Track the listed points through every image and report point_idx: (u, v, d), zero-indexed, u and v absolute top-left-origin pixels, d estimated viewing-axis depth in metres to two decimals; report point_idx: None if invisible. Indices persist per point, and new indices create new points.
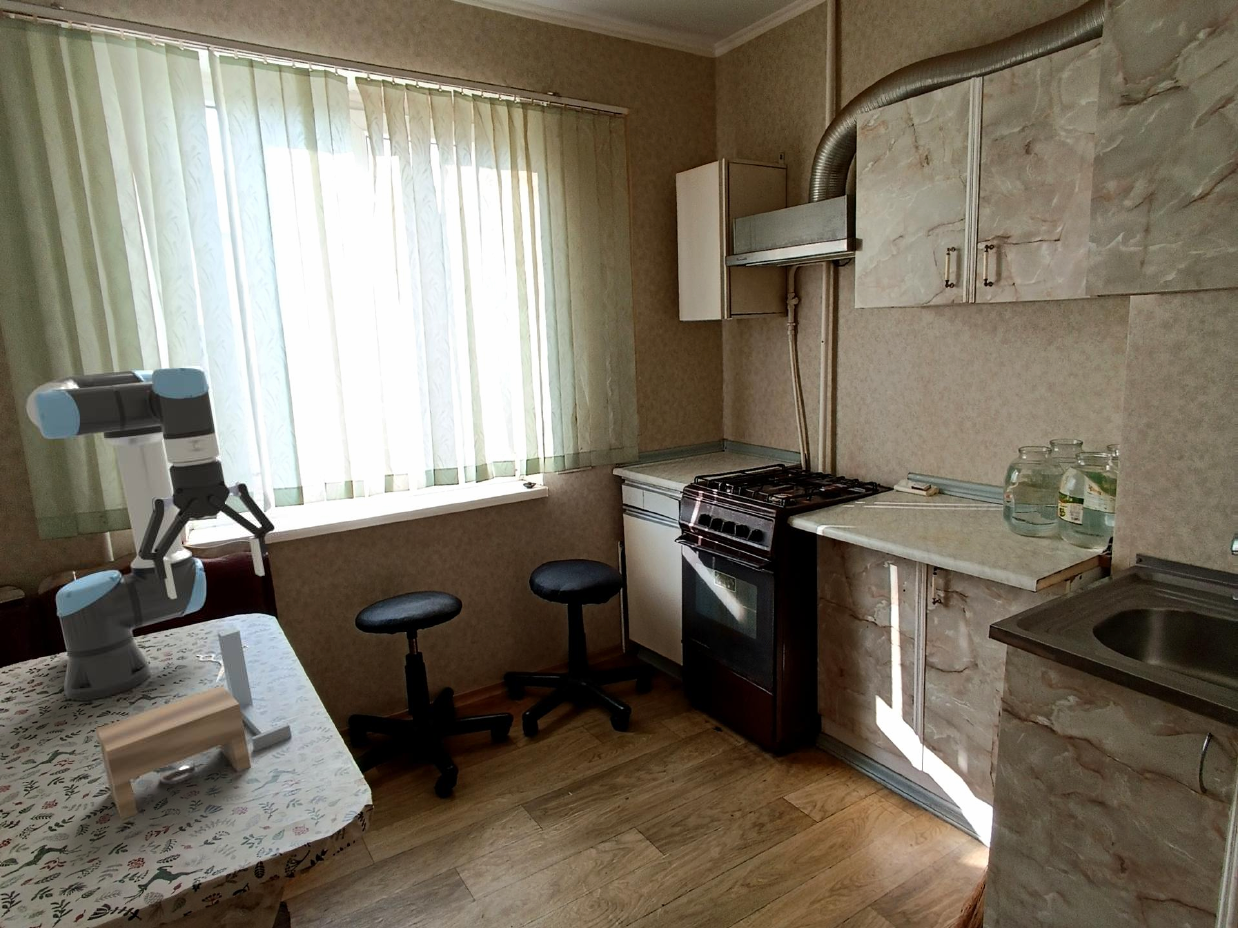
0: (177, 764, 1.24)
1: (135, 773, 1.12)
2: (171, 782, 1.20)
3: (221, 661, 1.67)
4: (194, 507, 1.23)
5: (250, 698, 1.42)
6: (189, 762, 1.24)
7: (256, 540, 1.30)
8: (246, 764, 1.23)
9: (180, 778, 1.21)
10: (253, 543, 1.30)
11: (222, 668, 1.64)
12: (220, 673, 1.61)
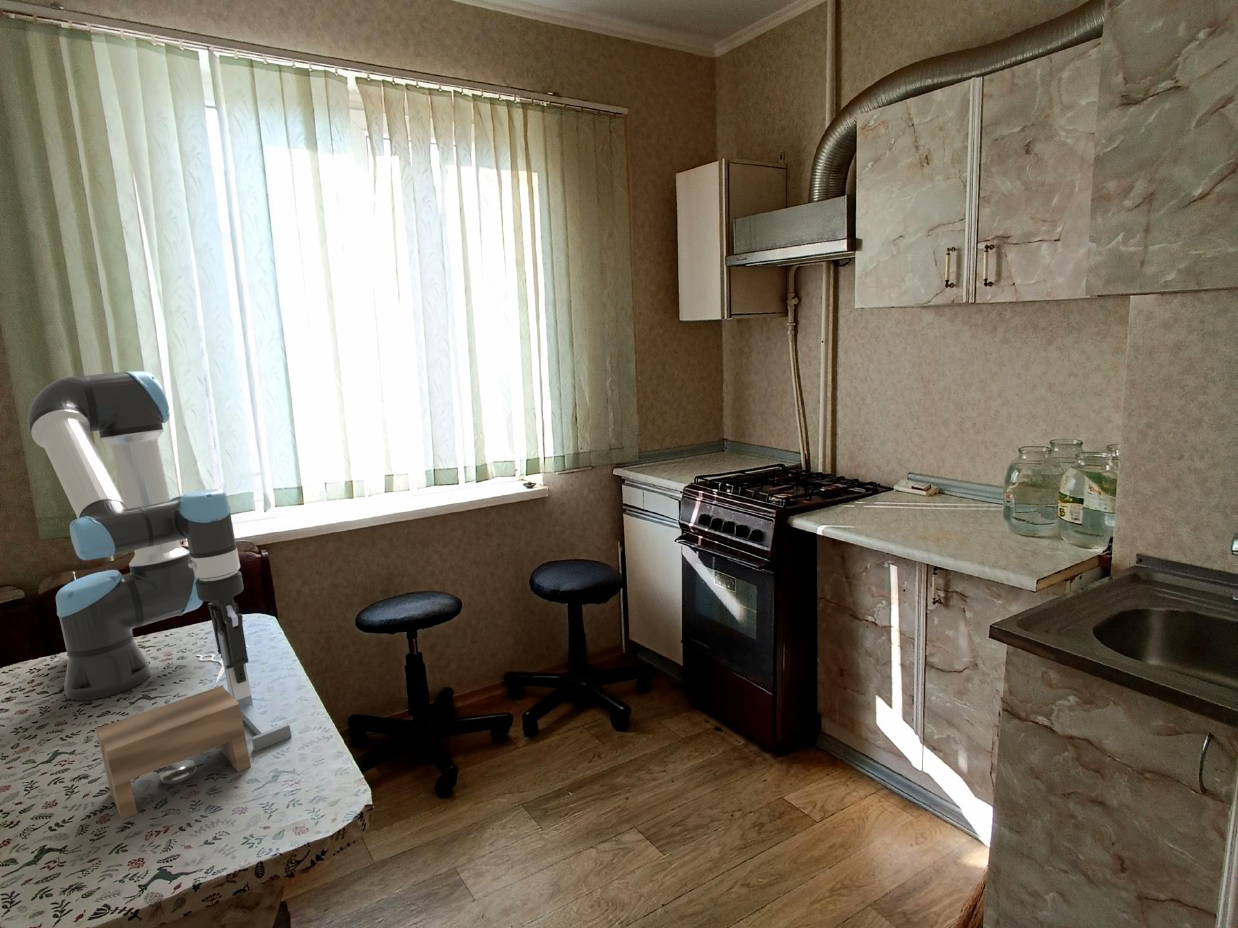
0: (177, 764, 1.24)
1: (135, 773, 1.12)
2: (171, 782, 1.20)
3: (221, 661, 1.67)
4: (211, 613, 1.39)
5: (250, 698, 1.42)
6: (189, 762, 1.24)
7: None
8: (246, 764, 1.23)
9: (180, 778, 1.20)
10: None
11: (222, 668, 1.64)
12: (220, 673, 1.61)
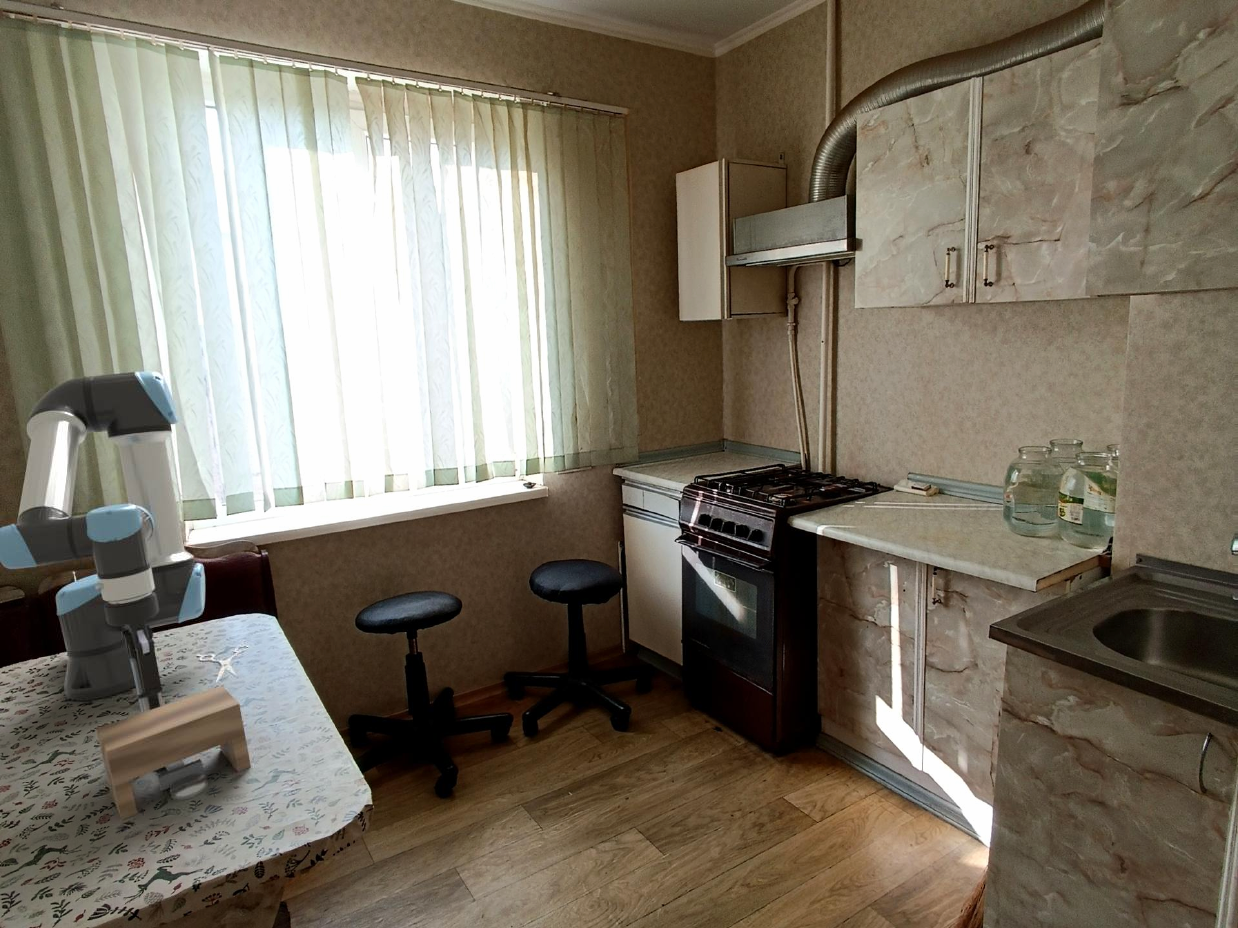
0: (187, 779, 1.19)
1: (135, 773, 1.12)
2: (182, 798, 1.15)
3: (221, 661, 1.67)
4: (123, 638, 1.29)
5: None
6: (200, 777, 1.19)
7: (142, 697, 1.28)
8: (246, 764, 1.23)
9: (192, 793, 1.16)
10: None
11: (222, 668, 1.64)
12: (220, 673, 1.61)
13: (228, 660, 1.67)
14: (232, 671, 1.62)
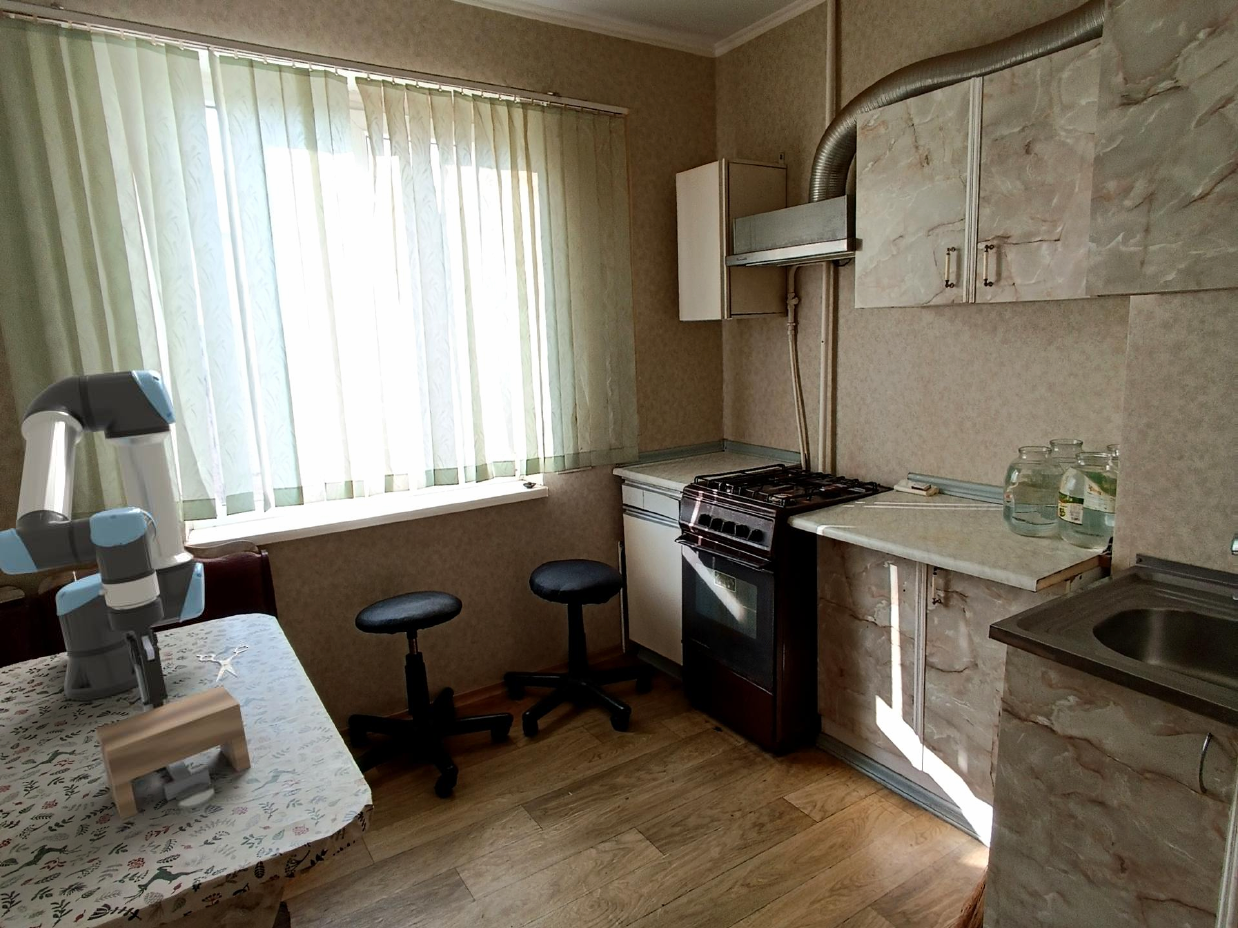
0: (193, 787, 1.16)
1: (135, 773, 1.12)
2: (190, 807, 1.13)
3: (221, 661, 1.67)
4: (127, 644, 1.26)
5: None
6: (206, 785, 1.17)
7: (147, 704, 1.26)
8: (246, 764, 1.23)
9: (199, 802, 1.13)
10: None
11: (222, 668, 1.64)
12: (220, 673, 1.61)
13: (228, 660, 1.67)
14: (232, 671, 1.62)
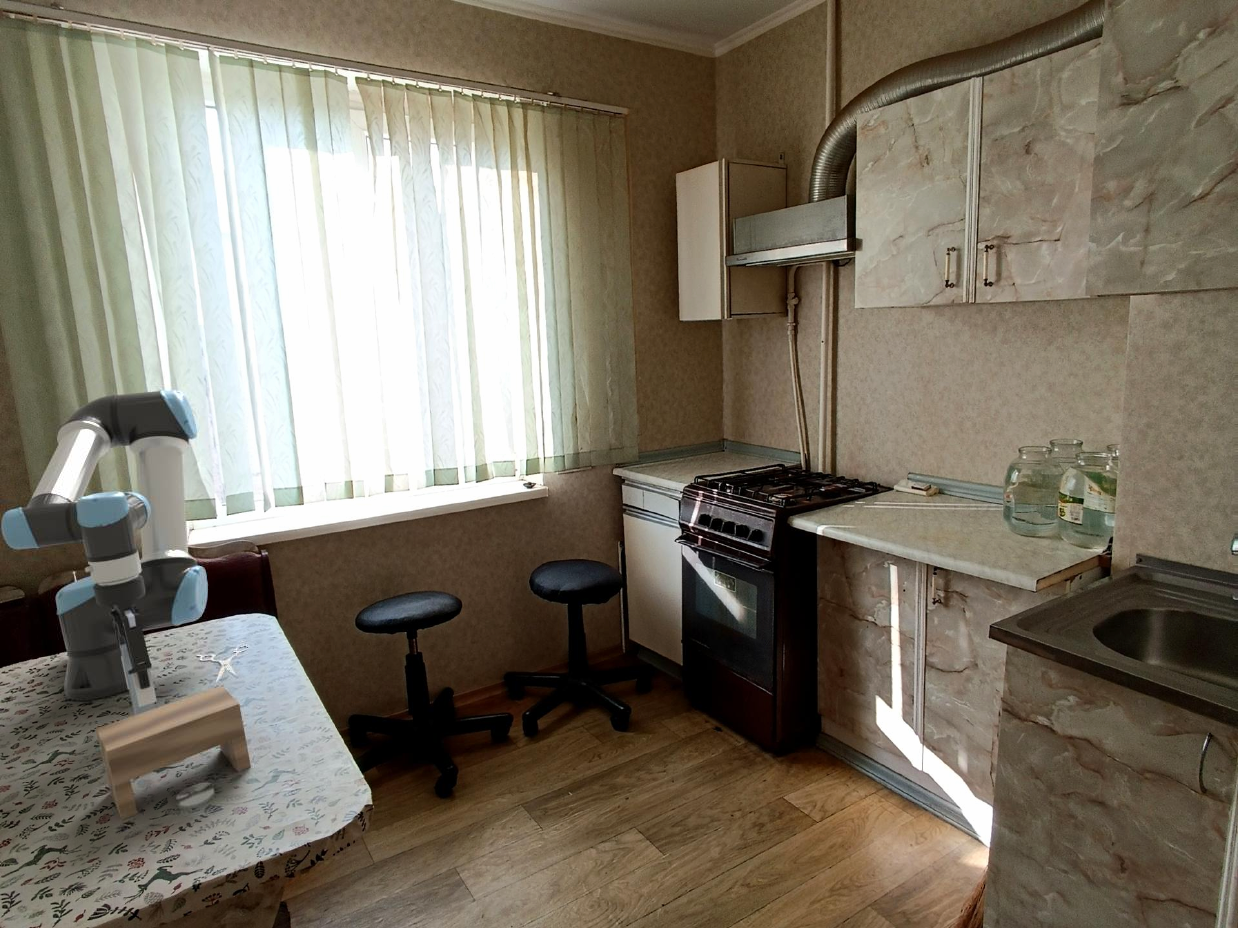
0: (193, 787, 1.16)
1: (135, 773, 1.12)
2: (189, 807, 1.13)
3: (221, 661, 1.67)
4: (111, 618, 1.37)
5: None
6: (206, 785, 1.17)
7: None
8: (246, 764, 1.23)
9: (199, 802, 1.13)
10: None
11: (222, 668, 1.64)
12: (220, 673, 1.61)
13: (228, 660, 1.67)
14: (232, 671, 1.62)
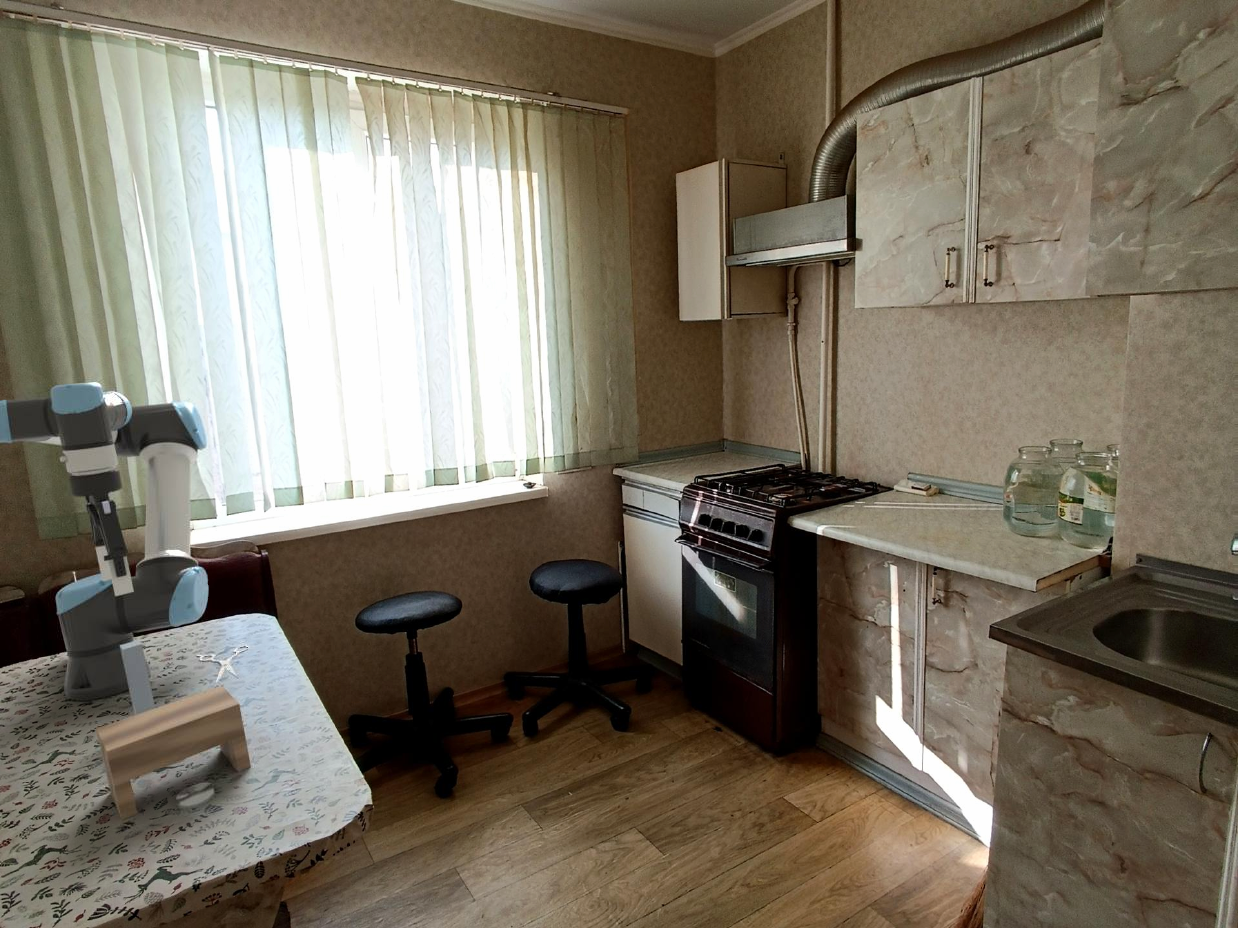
0: (193, 787, 1.16)
1: (135, 773, 1.12)
2: (189, 807, 1.13)
3: (221, 661, 1.67)
4: (87, 511, 1.35)
5: None
6: (206, 785, 1.17)
7: (108, 560, 1.30)
8: (246, 764, 1.23)
9: (199, 802, 1.13)
10: None
11: (222, 668, 1.64)
12: (220, 673, 1.61)
13: (228, 660, 1.67)
14: (232, 671, 1.62)
